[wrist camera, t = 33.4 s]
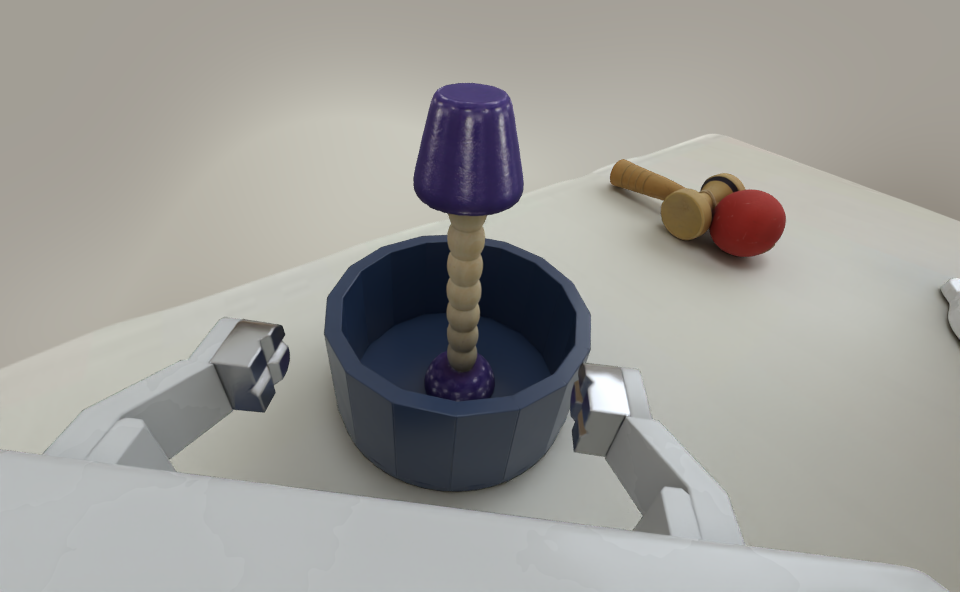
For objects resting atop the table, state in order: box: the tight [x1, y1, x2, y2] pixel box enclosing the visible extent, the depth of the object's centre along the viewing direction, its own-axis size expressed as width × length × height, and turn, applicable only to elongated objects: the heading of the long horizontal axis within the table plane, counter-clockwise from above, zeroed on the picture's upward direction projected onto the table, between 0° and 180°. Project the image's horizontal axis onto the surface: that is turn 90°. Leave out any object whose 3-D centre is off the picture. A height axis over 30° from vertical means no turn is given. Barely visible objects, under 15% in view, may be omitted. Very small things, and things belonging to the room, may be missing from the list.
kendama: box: [610, 159, 786, 257], centre depth 45 cm, size 8×6×18 cm
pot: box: [324, 235, 591, 492], centre depth 26 cm, size 14×14×6 cm
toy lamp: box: [414, 83, 524, 402], centre depth 22 cm, size 5×5×17 cm
